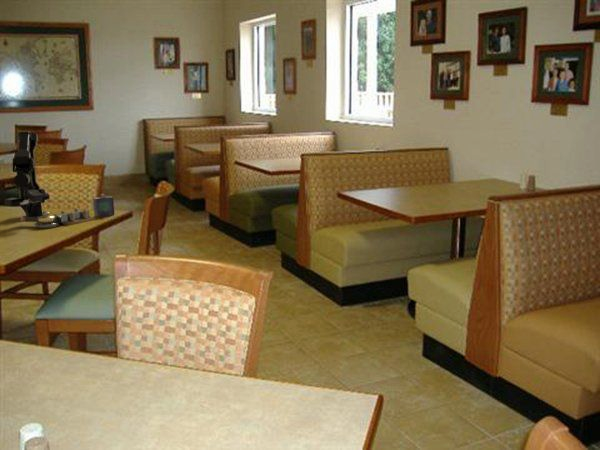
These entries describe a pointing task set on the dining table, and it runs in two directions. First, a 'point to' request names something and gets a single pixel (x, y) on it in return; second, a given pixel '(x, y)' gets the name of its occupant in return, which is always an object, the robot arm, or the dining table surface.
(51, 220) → the grey red-tipped part
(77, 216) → the spanner
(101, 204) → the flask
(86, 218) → the rack
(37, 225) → the nut base
